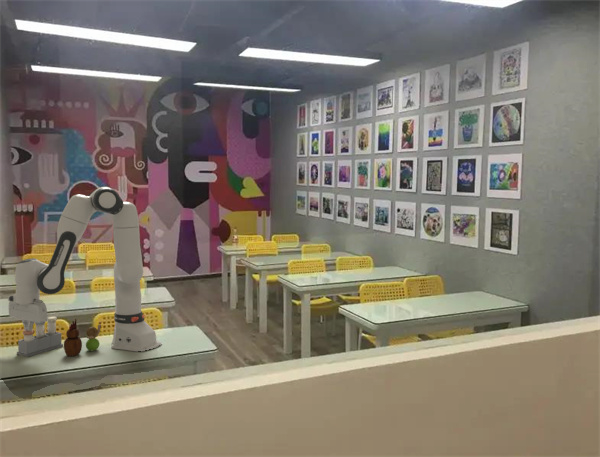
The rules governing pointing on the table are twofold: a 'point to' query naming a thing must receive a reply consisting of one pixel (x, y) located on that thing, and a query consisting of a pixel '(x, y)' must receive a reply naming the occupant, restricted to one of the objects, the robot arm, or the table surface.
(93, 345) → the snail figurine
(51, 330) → the cream plug
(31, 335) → the terracotta plug
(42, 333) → the slate plug
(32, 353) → the socket board
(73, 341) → the wooden figurine
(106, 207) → the robot arm
